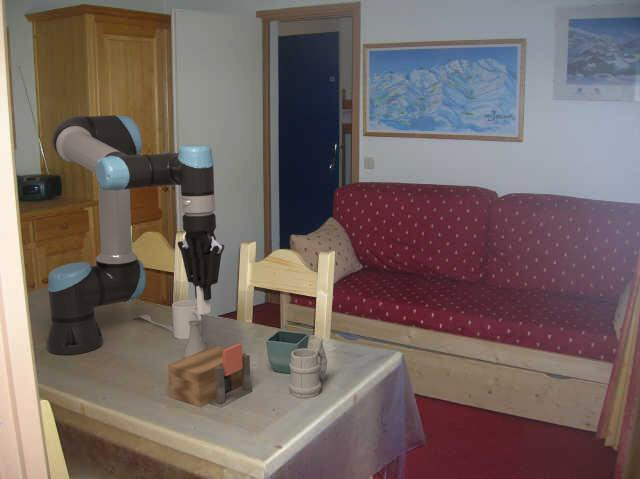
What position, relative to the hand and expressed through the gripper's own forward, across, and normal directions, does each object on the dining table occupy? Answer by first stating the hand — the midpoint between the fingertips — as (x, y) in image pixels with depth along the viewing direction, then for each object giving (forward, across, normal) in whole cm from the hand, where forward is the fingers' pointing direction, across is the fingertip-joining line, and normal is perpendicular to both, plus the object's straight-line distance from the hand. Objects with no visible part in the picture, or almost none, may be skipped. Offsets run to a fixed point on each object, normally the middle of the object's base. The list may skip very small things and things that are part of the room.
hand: (204, 312), depth 164 cm
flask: (+19, -19, +15) cm, 31 cm away
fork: (+19, -51, +28) cm, 61 cm away
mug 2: (+20, +20, +15) cm, 32 cm away
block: (+20, +2, 0) cm, 20 cm away
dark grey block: (+20, -1, +1) cm, 20 cm away
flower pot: (+20, +8, +21) cm, 30 cm away
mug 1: (+19, -32, +26) cm, 46 cm away
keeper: (+13, +8, 0) cm, 15 cm away
